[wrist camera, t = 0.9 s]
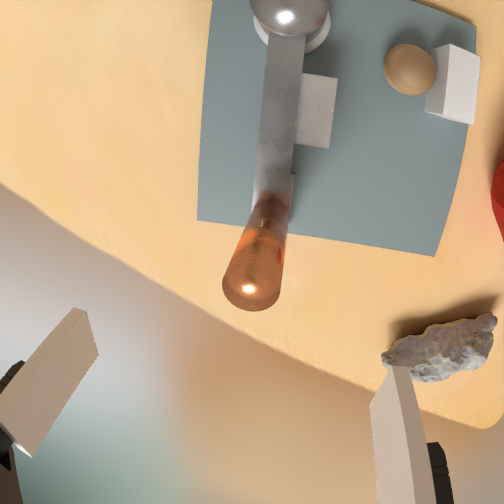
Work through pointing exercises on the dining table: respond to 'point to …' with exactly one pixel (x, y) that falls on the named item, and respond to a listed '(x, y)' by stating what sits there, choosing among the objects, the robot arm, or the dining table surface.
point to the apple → (498, 197)
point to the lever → (280, 146)
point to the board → (345, 124)
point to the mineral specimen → (444, 348)
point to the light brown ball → (409, 69)
